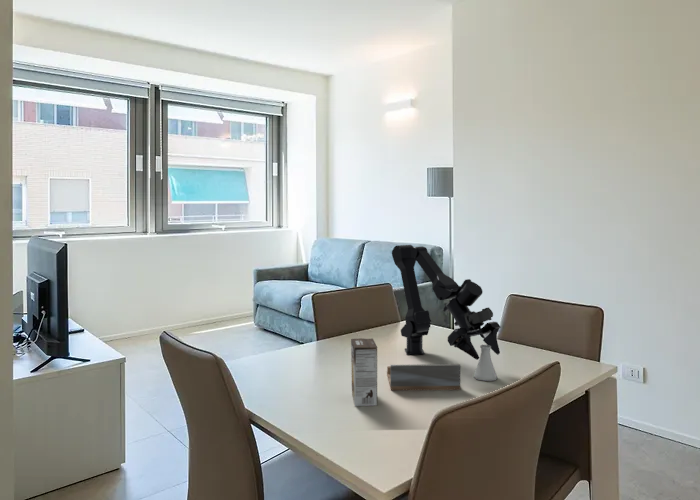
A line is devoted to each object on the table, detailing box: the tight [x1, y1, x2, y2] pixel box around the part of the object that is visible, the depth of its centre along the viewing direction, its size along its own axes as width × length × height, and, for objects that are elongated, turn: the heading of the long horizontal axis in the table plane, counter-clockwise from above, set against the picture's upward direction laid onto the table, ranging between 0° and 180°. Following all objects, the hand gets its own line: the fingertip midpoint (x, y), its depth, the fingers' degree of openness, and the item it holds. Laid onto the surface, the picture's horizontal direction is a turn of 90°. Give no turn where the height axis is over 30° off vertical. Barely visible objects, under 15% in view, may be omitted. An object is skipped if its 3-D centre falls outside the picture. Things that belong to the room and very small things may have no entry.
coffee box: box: [350, 338, 378, 407], centre depth 143 cm, size 9×6×16 cm
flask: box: [472, 344, 498, 382], centre depth 161 cm, size 7×7×10 cm
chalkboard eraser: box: [386, 363, 461, 391], centre depth 157 cm, size 14×20×7 cm
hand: (488, 356), depth 159 cm, fingers open, 9 cm apart
